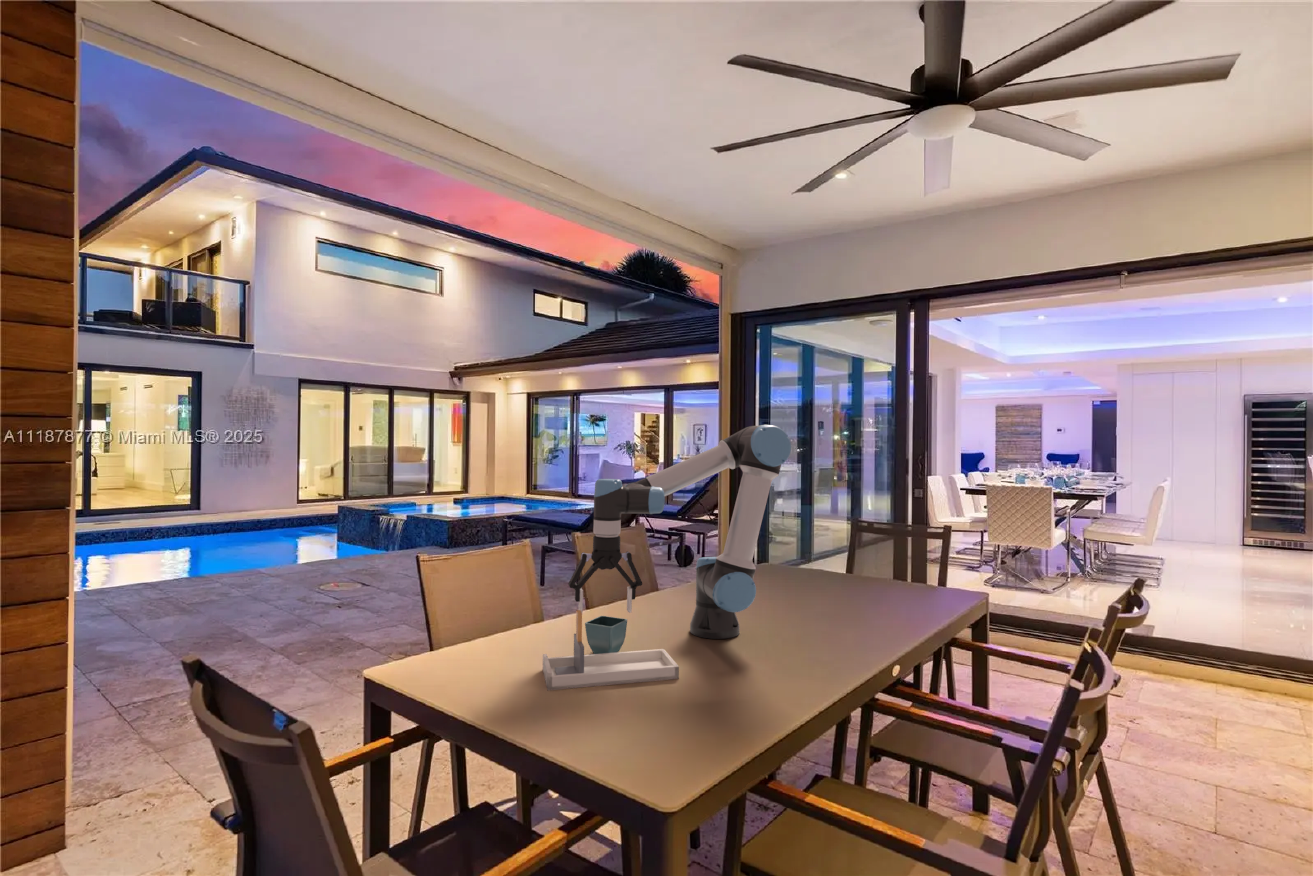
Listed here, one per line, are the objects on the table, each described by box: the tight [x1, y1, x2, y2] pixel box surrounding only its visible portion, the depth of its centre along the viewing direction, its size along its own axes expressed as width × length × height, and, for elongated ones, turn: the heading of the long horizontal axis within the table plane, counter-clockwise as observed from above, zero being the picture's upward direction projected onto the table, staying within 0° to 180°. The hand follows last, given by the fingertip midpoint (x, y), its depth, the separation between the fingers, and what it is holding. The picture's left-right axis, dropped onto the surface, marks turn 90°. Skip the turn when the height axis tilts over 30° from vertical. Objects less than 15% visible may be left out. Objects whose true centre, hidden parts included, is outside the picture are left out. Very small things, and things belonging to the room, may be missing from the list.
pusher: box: [555, 609, 585, 675], centre depth 159 cm, size 6×11×15 cm, turn 15°
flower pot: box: [584, 615, 628, 654], centre depth 178 cm, size 9×9×9 cm
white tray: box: [542, 648, 680, 691], centre depth 161 cm, size 32×14×4 cm, turn 105°
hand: (604, 612), depth 177 cm, fingers open, 13 cm apart
